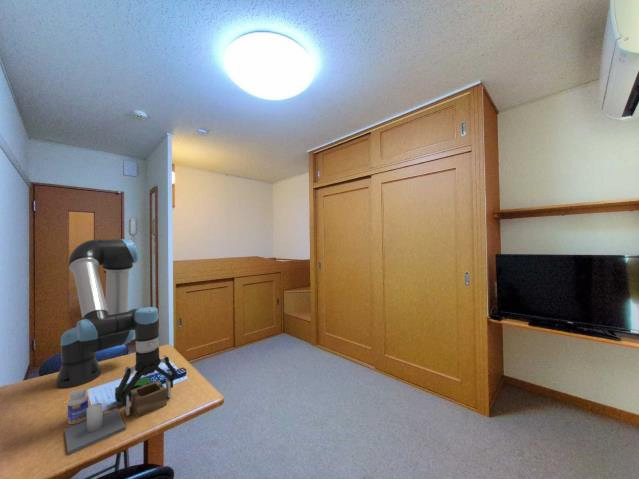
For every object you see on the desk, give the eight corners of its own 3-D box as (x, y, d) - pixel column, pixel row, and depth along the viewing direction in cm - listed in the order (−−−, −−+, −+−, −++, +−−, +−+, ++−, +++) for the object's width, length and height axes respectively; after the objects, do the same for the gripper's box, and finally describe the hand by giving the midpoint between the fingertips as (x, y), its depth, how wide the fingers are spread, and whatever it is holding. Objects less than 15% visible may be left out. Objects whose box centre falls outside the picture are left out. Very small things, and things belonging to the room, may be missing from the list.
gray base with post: (64, 431, 88) (64, 407, 88) (117, 411, 98) (116, 389, 98) (67, 455, 78) (67, 428, 78) (125, 429, 89) (124, 405, 89)
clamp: (124, 415, 103) (113, 401, 98) (120, 405, 106) (110, 391, 102) (157, 391, 110) (148, 377, 106) (152, 383, 114) (143, 369, 110)
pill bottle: (71, 426, 90) (70, 398, 90) (65, 421, 93) (64, 393, 93) (91, 417, 95) (90, 390, 95) (85, 412, 98) (84, 386, 98)
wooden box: (131, 406, 101) (130, 390, 101) (159, 394, 108) (158, 380, 108) (137, 417, 95) (137, 400, 95) (166, 404, 102) (166, 389, 101)
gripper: (107, 364, 89) (109, 426, 90) (185, 341, 108) (187, 394, 108) (104, 357, 95) (105, 416, 95) (179, 337, 113) (180, 387, 113)
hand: (148, 404), depth 101 cm, fingers open, 13 cm apart
